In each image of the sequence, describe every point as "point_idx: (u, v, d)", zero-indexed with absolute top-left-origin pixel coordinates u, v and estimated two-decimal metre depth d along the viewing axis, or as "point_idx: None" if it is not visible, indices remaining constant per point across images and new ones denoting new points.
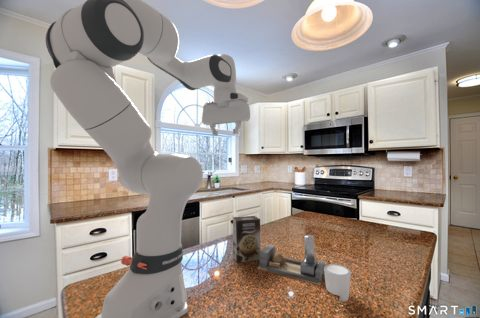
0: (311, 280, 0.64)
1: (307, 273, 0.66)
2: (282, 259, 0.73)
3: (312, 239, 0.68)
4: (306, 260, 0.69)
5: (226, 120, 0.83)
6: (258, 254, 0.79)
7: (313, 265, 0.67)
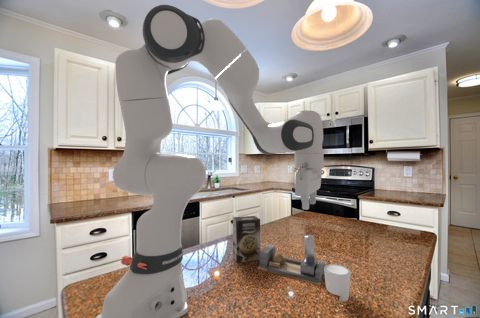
0: (311, 280, 0.64)
1: (307, 273, 0.66)
2: (282, 259, 0.73)
3: (312, 239, 0.68)
4: (306, 260, 0.69)
5: (315, 190, 0.70)
6: (258, 254, 0.79)
7: (313, 265, 0.67)
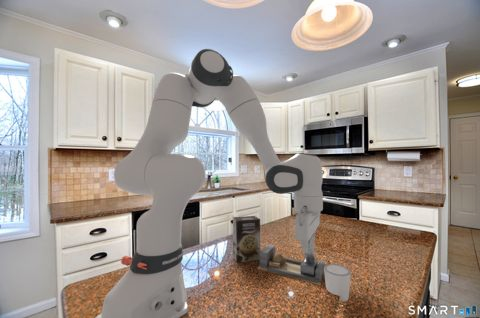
0: (311, 280, 0.64)
1: (307, 273, 0.66)
2: (282, 259, 0.73)
3: (312, 239, 0.68)
4: (306, 260, 0.69)
5: (314, 230, 0.71)
6: (258, 254, 0.79)
7: (313, 265, 0.67)
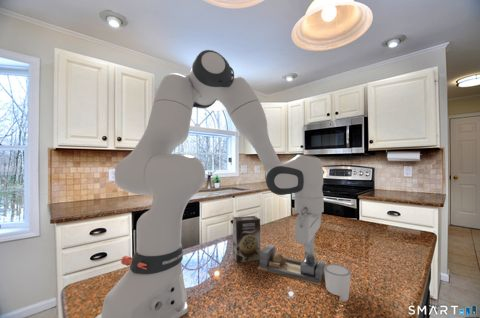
0: (311, 280, 0.64)
1: (307, 273, 0.66)
2: (282, 259, 0.73)
3: (312, 239, 0.68)
4: (306, 260, 0.69)
5: (315, 232, 0.70)
6: (258, 254, 0.79)
7: (313, 265, 0.67)
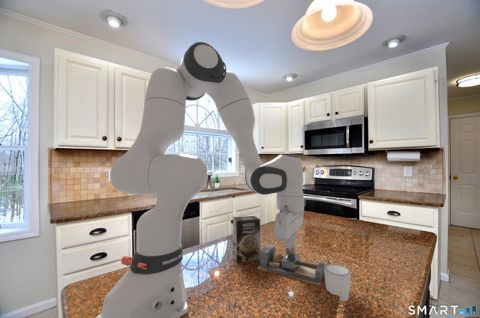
0: (311, 280, 0.64)
1: (287, 268, 0.69)
2: None
3: (293, 236, 0.71)
4: (287, 256, 0.72)
5: (296, 229, 0.73)
6: (258, 254, 0.79)
7: (293, 261, 0.70)
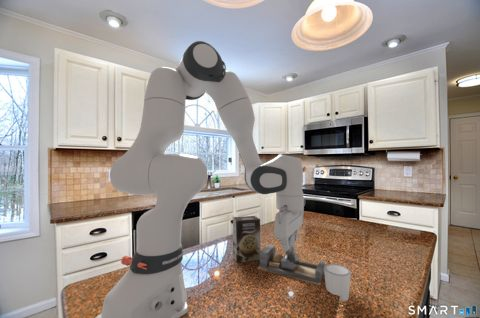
0: (311, 280, 0.64)
1: (287, 268, 0.70)
2: None
3: (292, 236, 0.71)
4: (287, 256, 0.72)
5: (296, 229, 0.73)
6: (258, 254, 0.79)
7: (293, 261, 0.70)
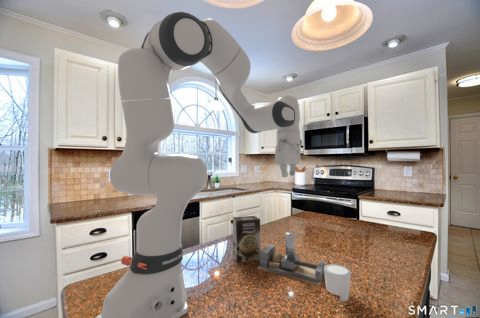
0: (311, 280, 0.64)
1: (287, 268, 0.70)
2: None
3: (292, 236, 0.71)
4: (287, 256, 0.72)
5: (294, 162, 0.85)
6: (258, 254, 0.79)
7: (293, 261, 0.70)
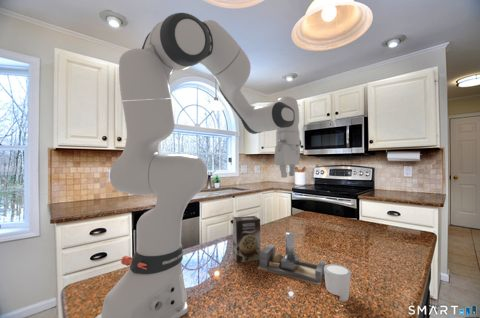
0: (311, 280, 0.64)
1: (287, 268, 0.70)
2: None
3: (292, 236, 0.71)
4: (287, 256, 0.72)
5: (293, 163, 0.85)
6: (258, 254, 0.79)
7: (293, 261, 0.70)
